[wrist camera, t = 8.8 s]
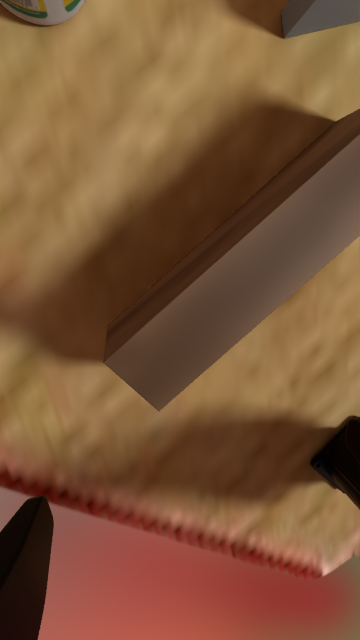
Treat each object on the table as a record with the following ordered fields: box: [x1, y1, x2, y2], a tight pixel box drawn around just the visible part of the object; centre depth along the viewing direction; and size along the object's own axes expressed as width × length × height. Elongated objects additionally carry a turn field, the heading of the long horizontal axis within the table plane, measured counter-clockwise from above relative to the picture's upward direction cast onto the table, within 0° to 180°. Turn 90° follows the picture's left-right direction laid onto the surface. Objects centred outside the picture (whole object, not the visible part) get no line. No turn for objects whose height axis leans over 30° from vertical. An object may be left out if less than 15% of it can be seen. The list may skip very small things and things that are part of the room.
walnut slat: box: [103, 109, 360, 411], centre depth 16 cm, size 4×20×6 cm, turn 130°
